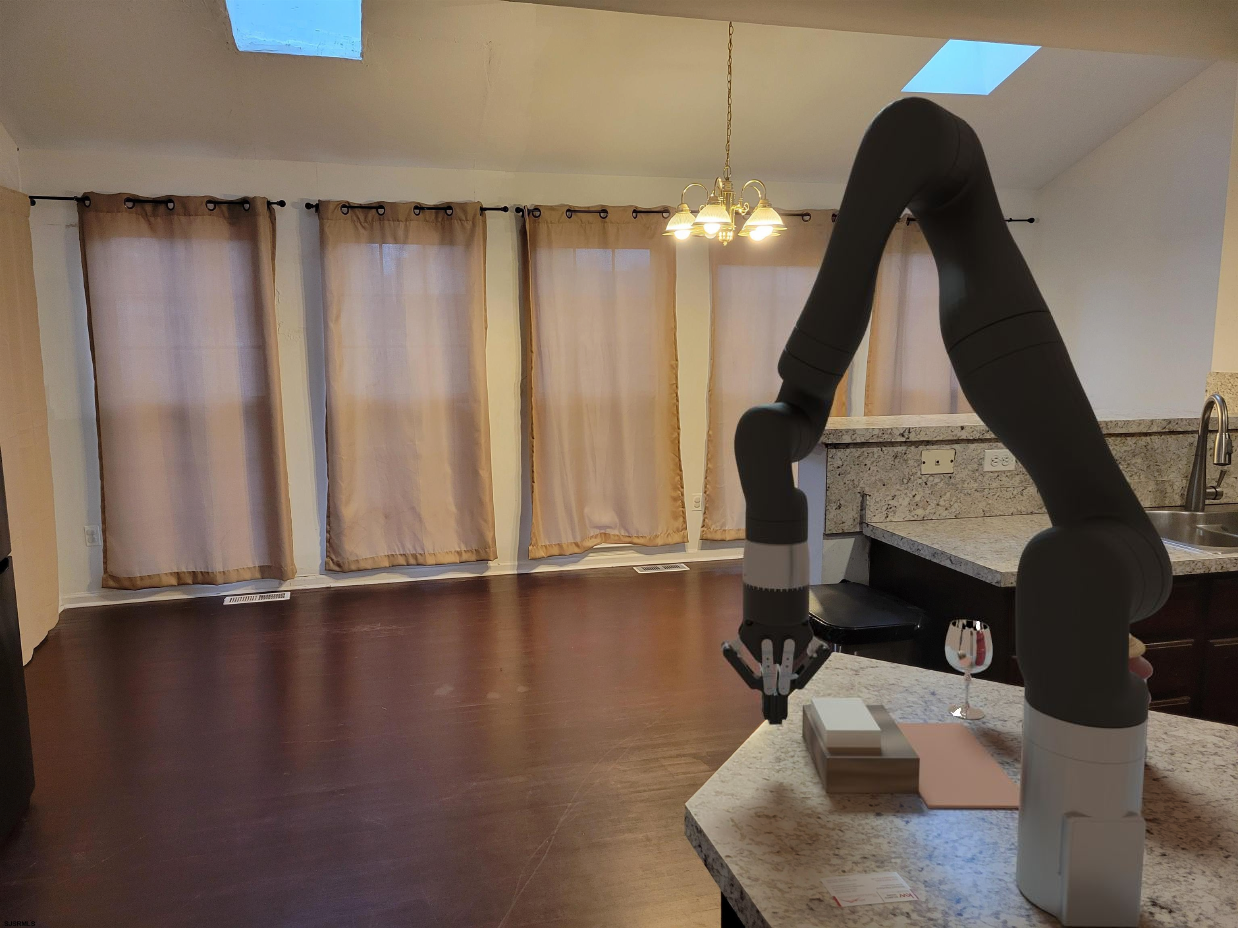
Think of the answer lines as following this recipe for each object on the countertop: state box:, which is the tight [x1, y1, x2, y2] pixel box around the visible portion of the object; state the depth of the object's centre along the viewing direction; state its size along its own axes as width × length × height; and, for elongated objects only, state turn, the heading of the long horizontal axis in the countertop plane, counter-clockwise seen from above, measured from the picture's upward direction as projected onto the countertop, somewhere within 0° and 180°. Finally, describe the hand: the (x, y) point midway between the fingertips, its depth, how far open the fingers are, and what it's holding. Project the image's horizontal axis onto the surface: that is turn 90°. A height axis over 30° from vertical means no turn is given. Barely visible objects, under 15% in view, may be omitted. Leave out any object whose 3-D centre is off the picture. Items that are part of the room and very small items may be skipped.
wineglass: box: [944, 619, 993, 720], centre depth 110 cm, size 6×6×12 cm
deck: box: [801, 704, 920, 794], centre depth 97 cm, size 14×10×4 cm
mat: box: [895, 722, 1020, 809], centre depth 97 cm, size 20×11×1 cm, turn 178°
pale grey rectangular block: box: [810, 697, 881, 747], centre depth 96 cm, size 9×6×2 cm, turn 178°
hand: (774, 721), depth 97 cm, fingers closed
